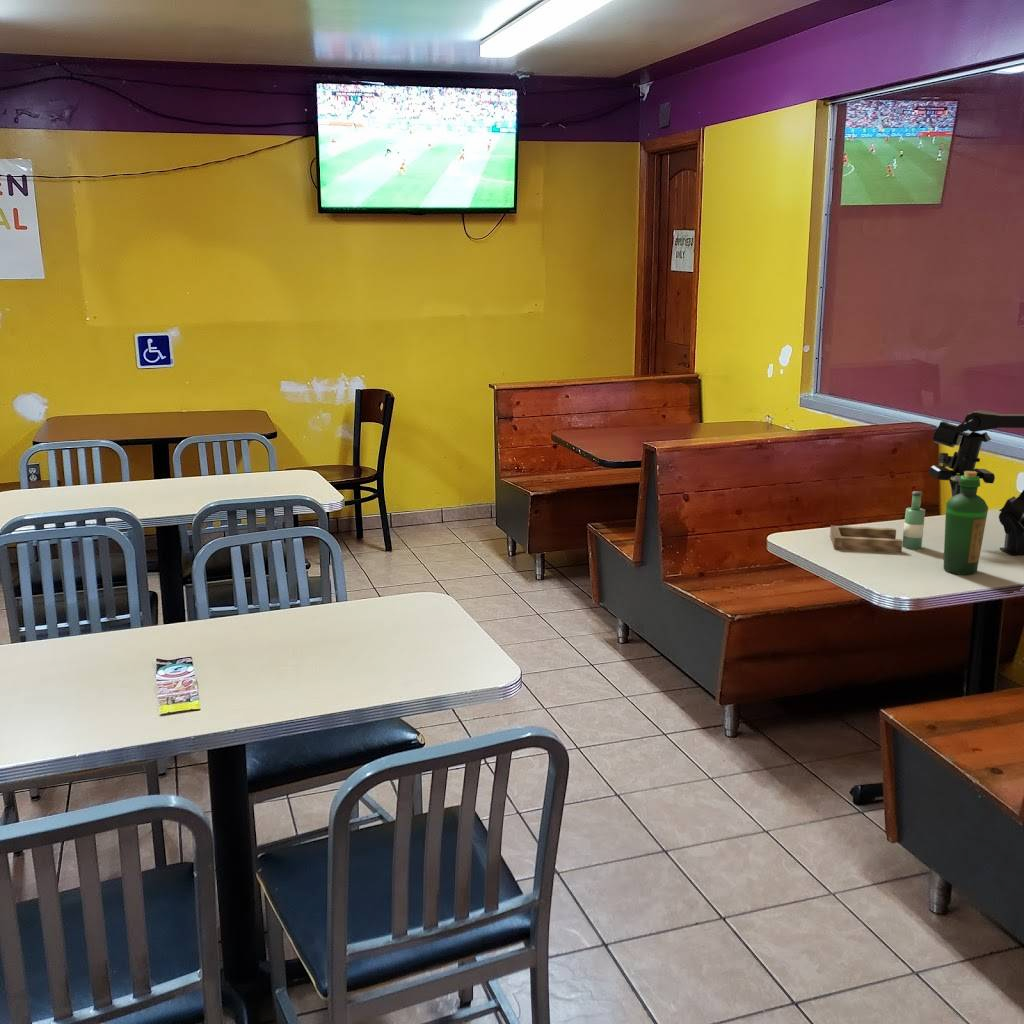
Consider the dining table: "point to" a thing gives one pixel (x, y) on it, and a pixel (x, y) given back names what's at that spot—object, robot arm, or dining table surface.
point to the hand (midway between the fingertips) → (954, 501)
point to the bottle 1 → (914, 523)
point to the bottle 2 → (964, 527)
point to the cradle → (865, 539)
